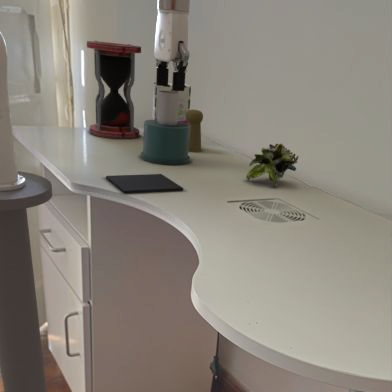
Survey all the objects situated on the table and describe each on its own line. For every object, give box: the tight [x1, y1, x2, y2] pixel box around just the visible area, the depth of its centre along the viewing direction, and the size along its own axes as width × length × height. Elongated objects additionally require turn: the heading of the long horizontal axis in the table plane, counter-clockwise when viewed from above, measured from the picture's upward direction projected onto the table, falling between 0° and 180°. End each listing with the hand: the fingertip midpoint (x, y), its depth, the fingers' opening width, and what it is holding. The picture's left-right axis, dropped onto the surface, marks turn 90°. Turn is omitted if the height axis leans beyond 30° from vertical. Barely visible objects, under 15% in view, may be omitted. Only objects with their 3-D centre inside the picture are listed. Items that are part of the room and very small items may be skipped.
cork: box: [186, 109, 204, 153], centre depth 141 cm, size 6×6×11 cm
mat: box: [105, 173, 184, 194], centre depth 107 cm, size 14×12×1 cm
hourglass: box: [86, 40, 142, 139], centre depth 147 cm, size 16×16×25 cm
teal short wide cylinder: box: [140, 119, 191, 166], centre depth 128 cm, size 14×14×9 cm
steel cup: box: [157, 91, 179, 126], centre depth 123 cm, size 5×5×8 cm
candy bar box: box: [151, 81, 192, 124], centre depth 147 cm, size 11×5×16 cm, turn 104°
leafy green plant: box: [245, 143, 299, 188], centre depth 116 cm, size 11×11×12 cm
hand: (169, 88), depth 121 cm, fingers open, 9 cm apart
